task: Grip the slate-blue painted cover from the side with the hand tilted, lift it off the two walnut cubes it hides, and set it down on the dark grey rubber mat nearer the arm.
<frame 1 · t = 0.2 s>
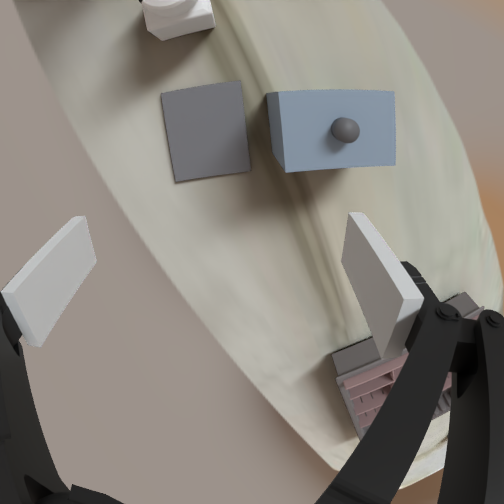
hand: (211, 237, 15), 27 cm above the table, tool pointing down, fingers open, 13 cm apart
medicine bottle: (183, 11, 30), on the table
organizer tray: (405, 370, 64), on the table
mat: (206, 130, 37), on the table
cover: (314, 120, 37), on the table
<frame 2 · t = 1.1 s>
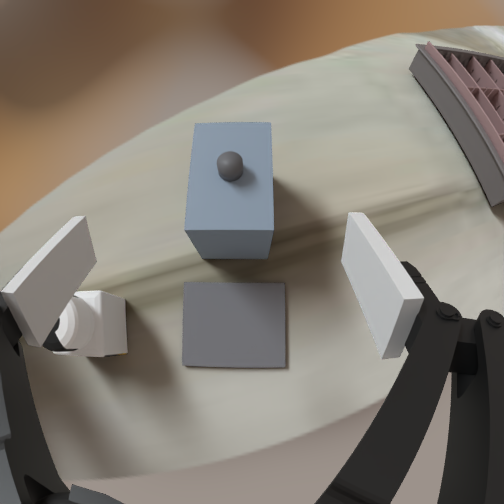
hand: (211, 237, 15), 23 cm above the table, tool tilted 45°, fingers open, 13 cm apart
medicine bottle: (103, 326, 36), on the table
organizer tray: (499, 128, 46), on the table
mat: (233, 325, 36), on the table
cover: (235, 213, 40), on the table
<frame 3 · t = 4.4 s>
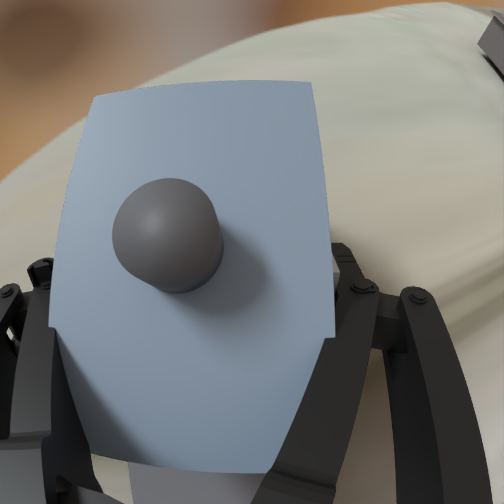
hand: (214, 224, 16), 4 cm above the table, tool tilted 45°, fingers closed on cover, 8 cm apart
mat: (222, 503, 15), on the table
cover: (219, 297, 19), on the table, touching gripper
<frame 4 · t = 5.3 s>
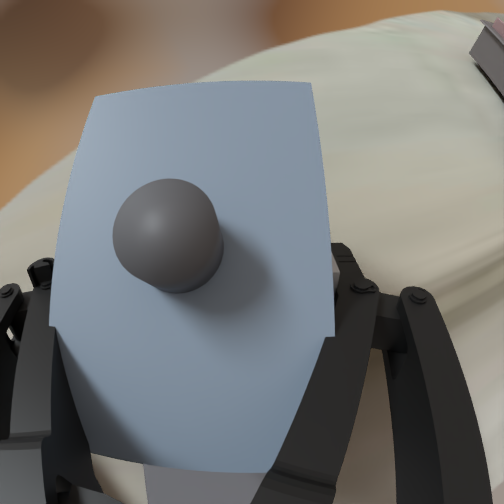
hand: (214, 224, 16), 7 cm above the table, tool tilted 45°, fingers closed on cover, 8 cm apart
mat: (224, 479, 18), on the table
cover: (219, 297, 19), point 3 cm above the table, touching gripper
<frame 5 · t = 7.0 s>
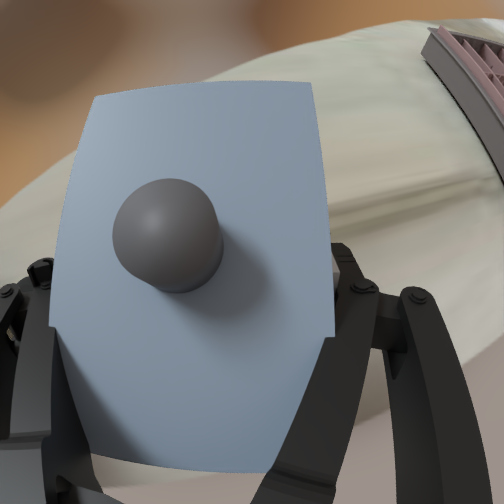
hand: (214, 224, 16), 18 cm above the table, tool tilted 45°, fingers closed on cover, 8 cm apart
cover: (219, 297, 19), point 14 cm above the table, touching gripper
when the fingers open (5 cm above the table, at t = 9.8 s): cover stays where it is, resting on mat.
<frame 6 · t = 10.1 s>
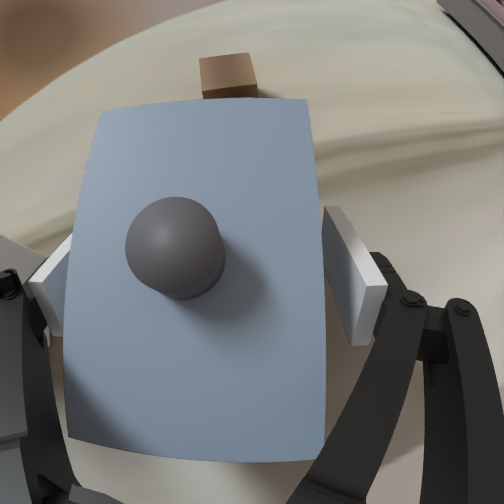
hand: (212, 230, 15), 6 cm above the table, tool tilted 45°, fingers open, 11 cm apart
cube b: (229, 103, 24), on the table
medicine bottle: (21, 303, 20), on the table
cover: (220, 299, 20), point 1 cm above the table, touching mat
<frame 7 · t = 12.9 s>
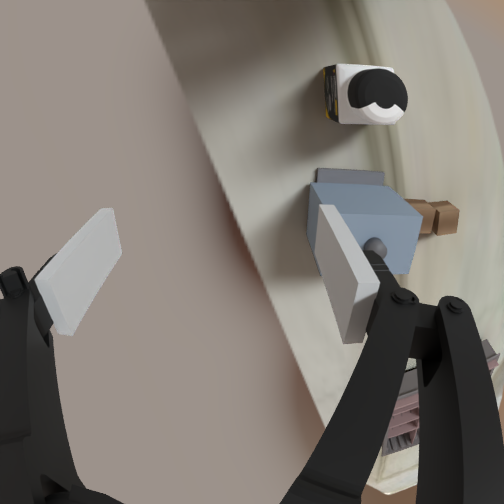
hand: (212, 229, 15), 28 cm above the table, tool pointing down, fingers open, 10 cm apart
cube b: (436, 212, 45), on the table
cube a: (411, 210, 45), on the table
medicine bottle: (349, 92, 36), on the table
organizer tray: (427, 394, 73), on the table
mat: (347, 208, 45), on the table
cover: (348, 209, 44), point 1 cm above the table, touching mat
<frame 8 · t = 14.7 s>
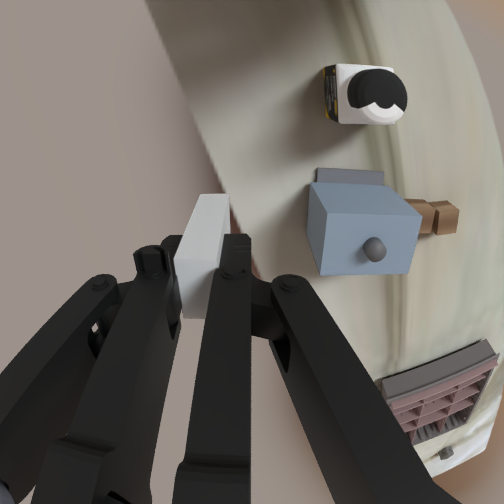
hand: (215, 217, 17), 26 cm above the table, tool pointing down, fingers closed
cube b: (436, 212, 45), on the table
dice cube: (444, 448, 103), on the table
cube a: (411, 210, 45), on the table
medicine bottle: (349, 92, 36), on the table
organizer tray: (427, 393, 73), on the table
mat: (346, 208, 45), on the table
cover: (347, 209, 44), point 1 cm above the table, touching mat
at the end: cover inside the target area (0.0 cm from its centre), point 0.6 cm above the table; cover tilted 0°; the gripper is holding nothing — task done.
